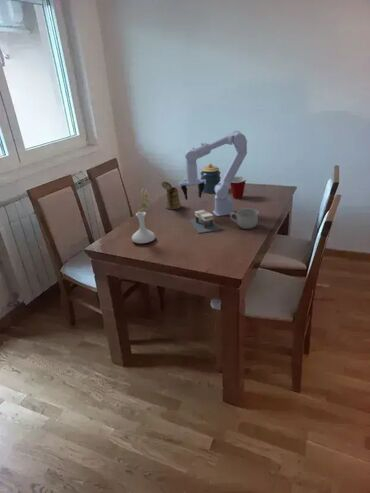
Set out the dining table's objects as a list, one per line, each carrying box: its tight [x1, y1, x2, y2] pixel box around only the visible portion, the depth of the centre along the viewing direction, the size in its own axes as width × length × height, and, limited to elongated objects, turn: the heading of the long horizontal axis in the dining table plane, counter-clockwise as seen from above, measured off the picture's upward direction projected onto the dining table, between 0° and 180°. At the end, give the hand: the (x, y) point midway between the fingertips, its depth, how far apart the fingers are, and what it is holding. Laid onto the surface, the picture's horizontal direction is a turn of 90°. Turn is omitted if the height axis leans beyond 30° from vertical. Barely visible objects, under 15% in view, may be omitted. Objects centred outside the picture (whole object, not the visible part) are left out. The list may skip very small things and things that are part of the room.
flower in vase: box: [131, 187, 156, 244], centre depth 171 cm, size 13×11×25 cm
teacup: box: [229, 207, 259, 230], centre depth 182 cm, size 14×11×8 cm
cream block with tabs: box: [194, 209, 214, 228], centre depth 187 cm, size 10×5×6 cm, turn 28°
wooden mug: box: [160, 181, 182, 211], centre depth 210 cm, size 9×14×18 cm, turn 157°
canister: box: [200, 163, 222, 194], centre depth 237 cm, size 13×13×18 cm
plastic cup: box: [230, 175, 247, 200], centre depth 222 cm, size 11×11×12 cm
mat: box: [188, 218, 222, 235], centre depth 188 cm, size 18×12×1 cm, turn 15°
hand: (193, 198), depth 197 cm, fingers open, 7 cm apart
